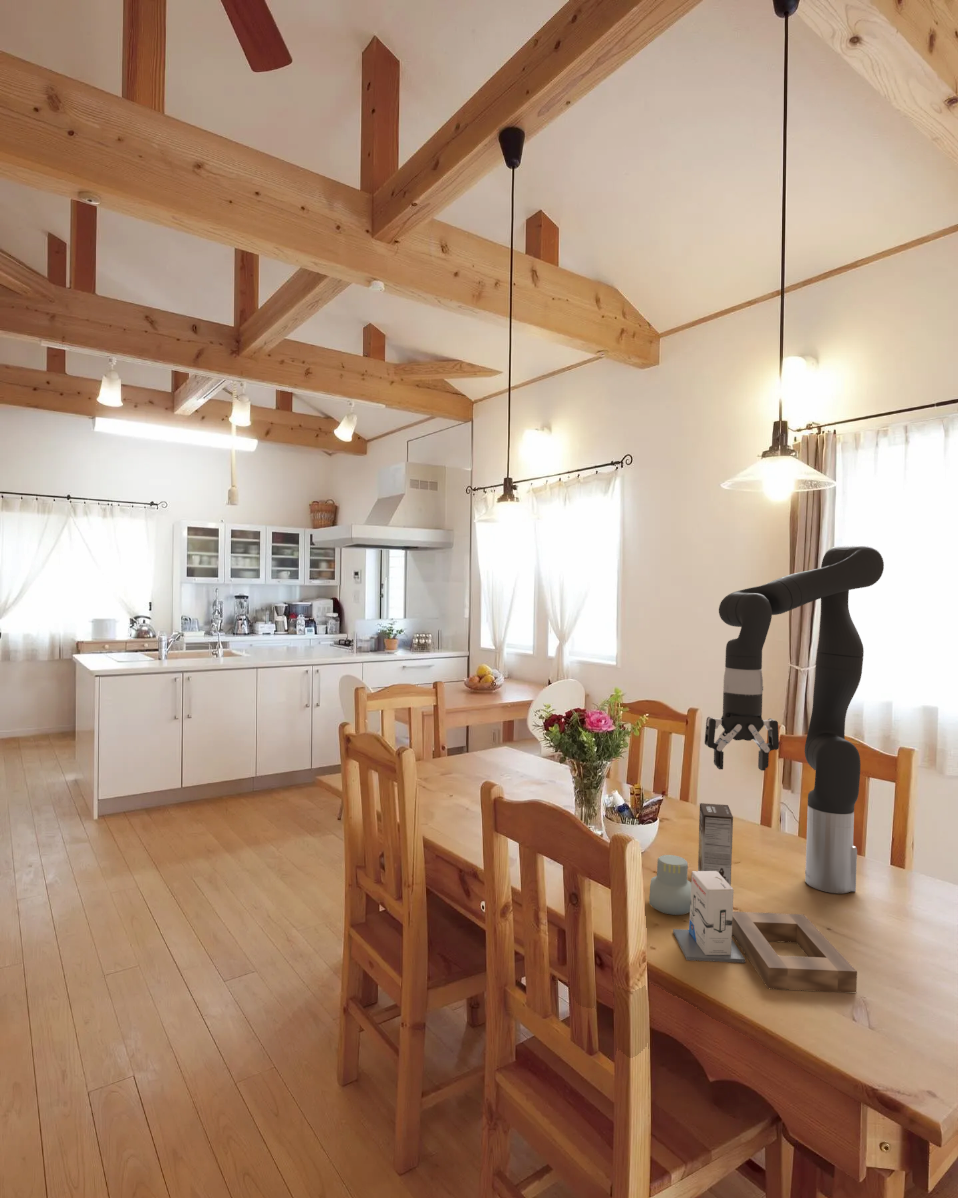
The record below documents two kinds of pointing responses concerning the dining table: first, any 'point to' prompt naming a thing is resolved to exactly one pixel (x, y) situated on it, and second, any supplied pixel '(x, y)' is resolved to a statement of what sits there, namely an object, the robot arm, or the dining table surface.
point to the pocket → (792, 972)
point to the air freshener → (671, 886)
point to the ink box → (711, 912)
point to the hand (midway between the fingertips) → (740, 769)
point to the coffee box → (715, 839)
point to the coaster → (695, 952)
